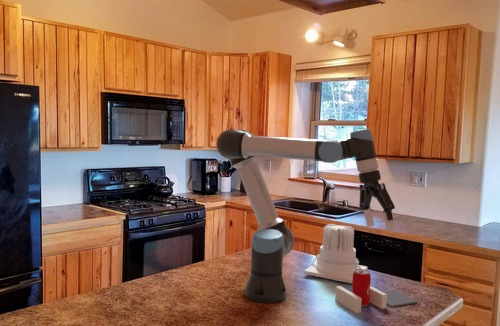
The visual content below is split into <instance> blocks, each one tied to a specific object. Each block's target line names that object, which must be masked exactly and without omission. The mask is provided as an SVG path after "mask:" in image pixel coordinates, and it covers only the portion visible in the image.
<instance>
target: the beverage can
mask: <svg viewBox="0 0 500 326" xmlns="http://www.w3.org/2000/svg"><path fill="white" fill-rule="evenodd" d="M370 273H371V272H370V271H369V270H368V269H367V270H364V269H355V270H354V273H353V280H352V283H351V292H352V293H354V294H355V295H357V296H359V297H361V298H362V300H361V308H362V307H367V306H369V304H370V302H369V301H370V286H371V282H372V281H371V280H372V279H371V278H372V275H371V274H370Z"/></svg>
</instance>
